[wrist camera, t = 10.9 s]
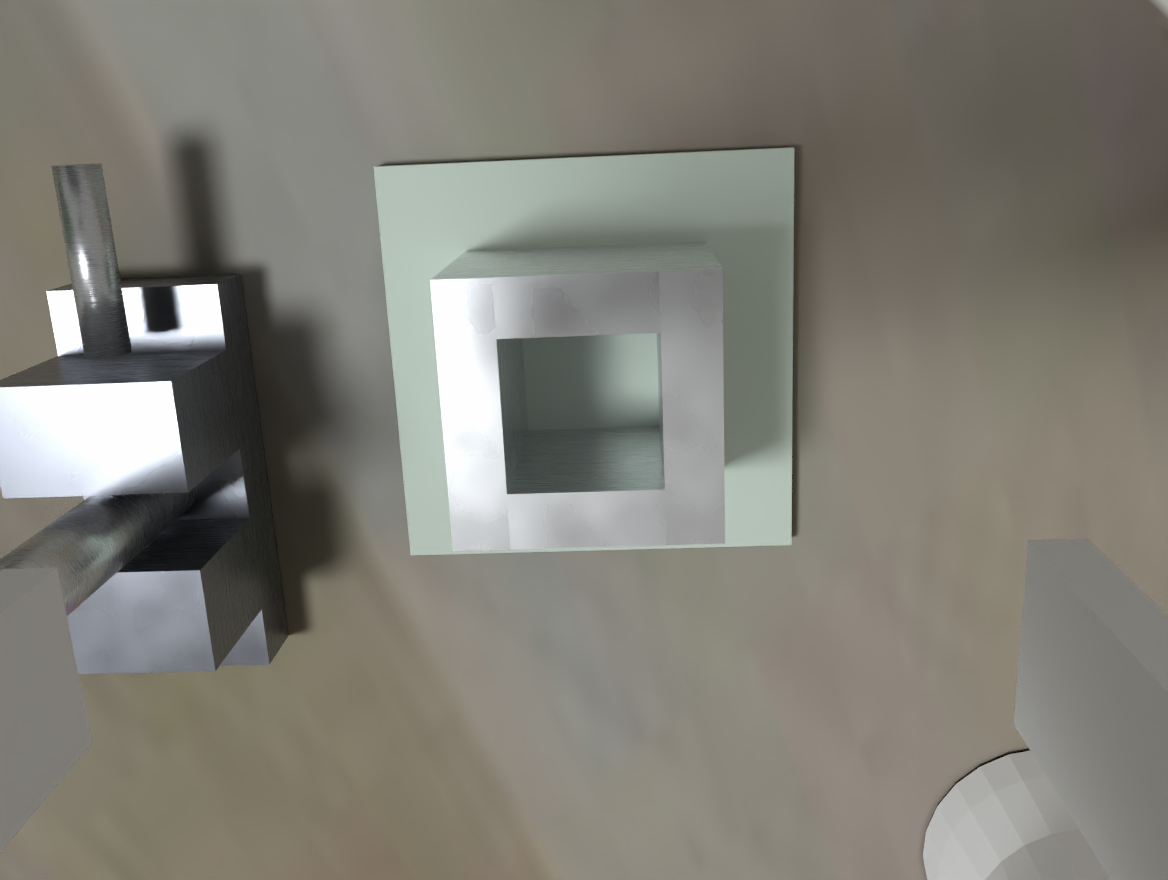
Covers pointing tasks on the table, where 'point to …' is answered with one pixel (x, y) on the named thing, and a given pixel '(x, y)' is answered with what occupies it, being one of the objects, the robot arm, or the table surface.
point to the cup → (1007, 829)
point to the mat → (602, 362)
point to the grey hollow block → (586, 455)
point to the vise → (145, 461)
